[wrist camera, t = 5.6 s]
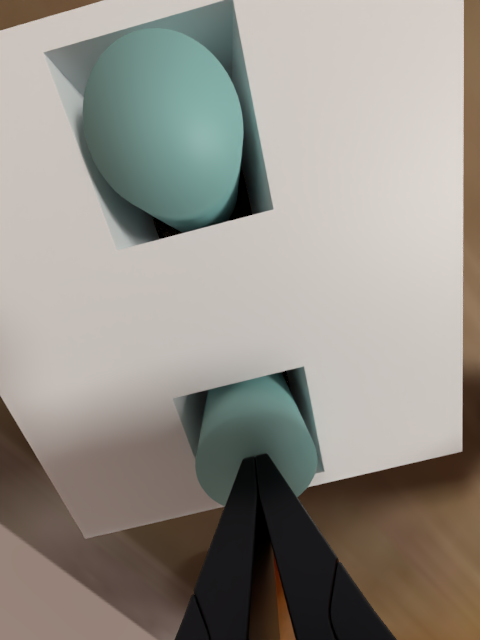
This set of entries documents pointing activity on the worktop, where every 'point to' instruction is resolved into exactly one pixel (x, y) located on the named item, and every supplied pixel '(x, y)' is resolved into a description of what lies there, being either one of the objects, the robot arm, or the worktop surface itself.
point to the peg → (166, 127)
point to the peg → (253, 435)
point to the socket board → (238, 251)
